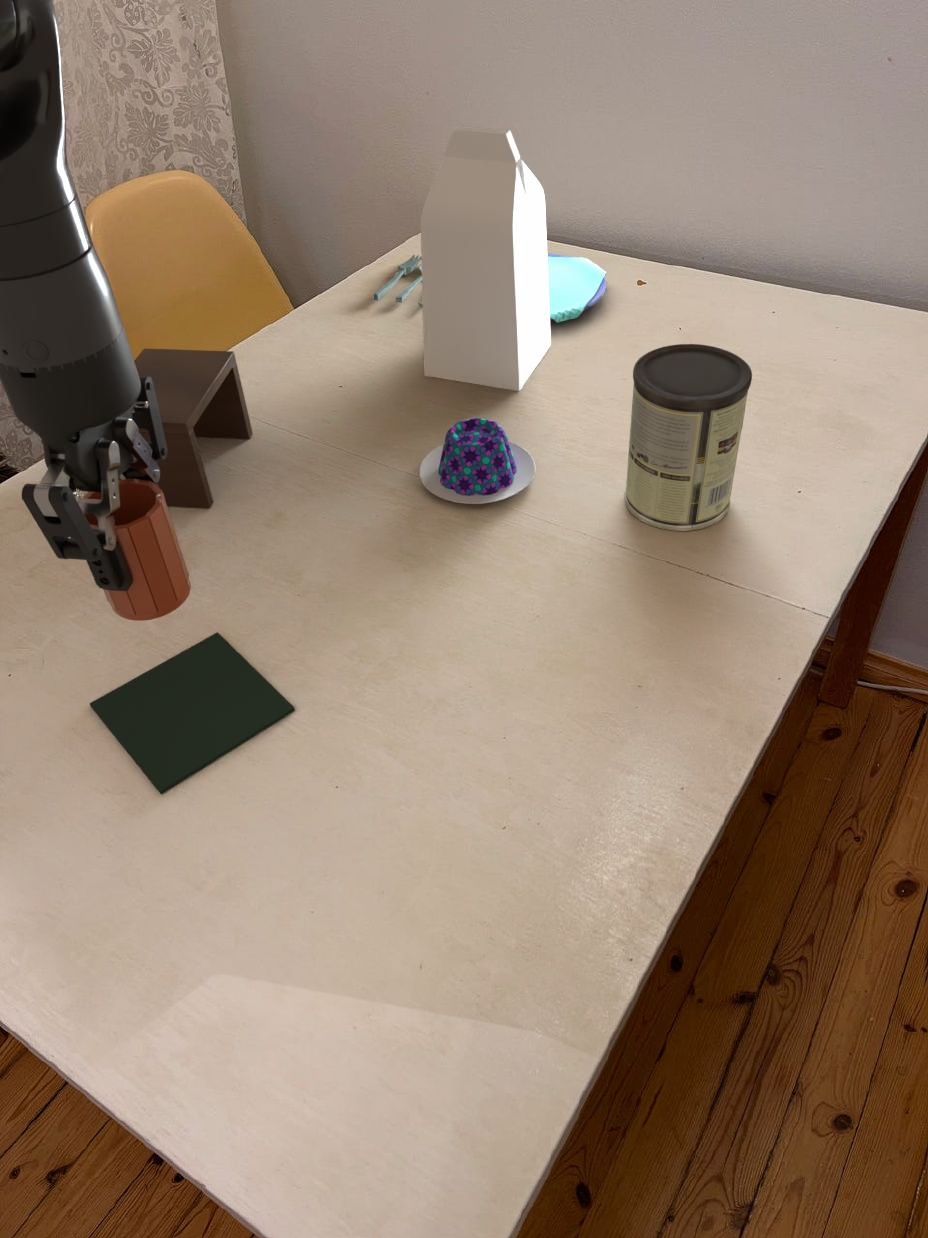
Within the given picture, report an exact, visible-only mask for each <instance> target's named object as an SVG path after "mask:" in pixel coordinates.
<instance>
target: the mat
mask: <svg viewBox="0 0 928 1238" xmlns="http://www.w3.org/2000/svg"><path fill="white" fill-rule="evenodd" d="M89 706H90V708H91V709H92V710H93V711H94V713H95V714H96V715H97V716H98V718H99V719H100V720H101V721H102V723H103V724H104V726H105V727H106V729H108V730H109V732H110V733H111V734H112V736H114V738H115V739H116V740H117V741H118V743H119V744H120V745H121V746H122V748H123V749H124V750H125V751H126V752H127V754H128V755H129V756H130V758H131V759H132V760H133V762H134V763H135V764H136V765H137V766H138V768H139V769H140V770H141V771H142V773H143V774H144V775H145V777H146V778H147V779H148V780H149V781H150V783H151V785H153V786H154V788H155V789H156V791H158V793H159V794H160V795H163V794H164V793H166V792H168V791H169V790H171V789H173V788H174V787H175V786H177V785H179V784H180V783H182V782H184V781H185V780H187V779H188V778H190V777H193V775H195V774H196V773H198V772H200V771H202V770H203V769H205V768H206V767H208V766H210V765H211V764H212V763H214V762H215V761H217V760H219V759H220V758H222V757H224V756H225V755H227V754H228V753H230V752H232V751H233V750H235V749H237V748H238V747H240V746H241V745H243V744H244V743H246V742H247V741H249V740H251V739H252V738H254V737H256V736H257V735H259V734H261V733H262V732H264V731H265V730H267V729H268V728H270V727H272V726H273V725H275V724H276V723H278V722H280V721H281V720H283V719H284V718H287V717H288V716H289V715H291V714H292V713H294V712H296V708H295V706H294V705H293V704H291V703H290V701H288V699H286V698H285V696H284V695H282V694H281V693H280V692H279V691H278V690H277V689H276V688H275V687H274V685H272V684H271V683H270V682H269V681H268V680H267V679H266V678H265V677H264V676H263V675H262V673H260V672H259V671H258V670H257V669H256V668H255V667H254V666H253V665H252V664H251V663H250V662H249V661H248V660H246V658H245V657H244V656H242V654H240V652H238V651H237V650H236V648H235V647H233V646H232V644H231V643H230V642H228V640H227V639H225V638H224V637H223V636H222V635H221V634H220V633H219V632H218V631H217V632H215V633H213V634H211V635H209V636H208V637H206V638H204V639H202V640H200V641H199V642H196V643H194V644H193V645H192V646H189V647H188V648H187V649H184V650H182V651H181V652H179V653H177V654H176V655H174V656H172V657H170V658H168V659H166V660H164V661H163V662H161V663H160V664H157V665H155V666H154V667H152V668H151V669H149V670H147V671H145V672H143V673H141V674H140V675H138V676H136V677H134V678H133V679H130V680H129V681H127V682H125V683H123V684H121V685H120V686H118V687H116V688H115V689H112V690H110V691H109V692H107V693H106V694H103V695H101V696H100V697H98V698H96V699H95V700H93V701H91V702H90V703H89Z"/></svg>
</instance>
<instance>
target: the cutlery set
mask: <svg viewBox="0 0 928 1238" xmlns="http://www.w3.org/2000/svg"><path fill="white" fill-rule="evenodd" d="M547 259H548V283H549V307H550V320H554V321H555V322H556V323H561V322H564V321H569V320H575V319H576V318H579V317H580V316H581V314H582V313H583V311H584V310H587V309H588V308H590V307H593V306H594V305H595V304H596V303H598V301H599V300H601V298H602V297H604V295H605V292H606V287H607V284H608V281H607V280H606V277H605V276H607V273H608V272H606V271H605V270H604V269H602V268H601V267H600V266H599V265H598V264H596V263H594V262H593V261H592V260H590V259H588V258H586V257H579V256H578V257H576V256H575V257H573V256H568V255H563V254H558V253H552V252H551V253H549V252H547ZM420 262H421V263H420ZM419 263H420V265H419V267H418V269H419V271H420V272H421V274H422V261H421V256H420V255H415V254H413V255H412V256H411V257H410V258H408V259H407V260H406V261H405V262H403V263H402V264H400V265H399V264H398V265H397V269H398V270H397V272H396V273H395V274H394V275H393V276H392V278H391V279H390V280H388V281H387V282H386V283H385V284H384V285H383V286H381V287H379V289H377V291H375V292H374V293H373V295H372V297H373V301H380V300H381V298H382V297H384V295H385V294H387V292H389V291H390V290H391V289H393V287H394V286H395V285H396V284H397V282H398V281H399V280H400V278H401V277H402V276H407V275H409V274H412V272H413V271H414V269H416V267H417V266H418V264H419ZM421 282H422V275H420V276H418V277H417V278H416V279H415V280H414V281H412V282H411V283H410V284H408V286H407V287H405V289H403V290H402V291H401V292H400V293H399V294H398V295H397V296H396V297H395V301H396V303H403V302H404V301H405V299H406V298H407V297H408V296H409V294H410V293H411V292H412V291H413V290H414V289H415V288H416V286H418V285H419V284H420V283H421ZM417 305H418V309H423V299H422V300H421V301H420V302H418V304H417Z"/></svg>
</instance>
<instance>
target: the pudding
mask: <svg viewBox="0 0 928 1238" xmlns="http://www.w3.org/2000/svg"><path fill="white" fill-rule="evenodd" d="M536 468H537V466H536V462H535V460H534V458H533V456H532V455H531V453H530V452H529V451H528V450H527V449H525V448H524V447H522V446H521V445H519V444H517V443H516V442H513V441H510V440H509V438H508V435H507V432H506V431H505V430H504V428H503V427H502V426H500V425H499V423H498V422H497V421H495V420H493V419H489V418H488V419H484V418H481V417H471V418H469V419H462V420H459V421H458V422H456V423H454V425H453V426H452V427H449V429H448V430H447V432H446V433H445V436H444V442H443V444H441V445H439V446H437V447H435V448H434V449H432V450H431V451H430V452H428V453H427V455H425V456H424V458H423V459H422V461H421V463H420V465H419V469H418V476H419V479H420V482H421V484H422V485H423V487H425V489H426V490H428V491H429V492H430V493H432V494H433V495H435V496H436V497H438V498H441V499H443V500H446V501H450V502H453V503H459V504H468V505H480V504H490V503H495V502H499V501H502V500H506V499H509V498H511V497H513V496H515V495H517V494H519V493H520V492H522V491H524V489H526V488H527V487H528V486H529V485H530V484H531V482H532V481H533V480H534V477H535V475H536V471H537V470H536Z"/></svg>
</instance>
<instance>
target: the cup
mask: <svg viewBox="0 0 928 1238" xmlns="http://www.w3.org/2000/svg"><path fill="white" fill-rule="evenodd" d="M118 483H119V494H120V505H121V507H120V510H119V511H118V512H116V513H115V514H114V519H115V530H116V542H119V543H120V546H121V549H122V551H123V554H124V557H125V560H126V562H127V565H128V568H129V570H130V573H131V576H132V578H133V583H132V585H131V586H130V588H129V590H128V591H114V590H105V589H102V591H103V593H104V595H105V598H106V601H107V602H108V603H109V605H110V607H111V609H112V611H113V612H114V613H115V614H116V615H118V616H119V617H120V618H123V619H125V620H129V621H135V622H136V621H137V622H139V621H141V622H142V621H150V620H155V619H159V618H162V617H165V616H167V615H169V614H171V613H172V612H174V611H176V610H177V609H179V608H180V607H181V606H182V605H183V604H184V603H185V602H186V601H187V599H188V598H189V596H190V593H191V591H192V590H191V589H192V583H191V580H190V573H189V569H188V566H187V563H186V561H185V557H184V554H183V551H182V548H181V544H180V542H179V538H178V535H177V533H176V530H175V526H174V523H173V520H172V517H171V514H170V510H169V506H167V504H166V501H165V498H164V495H163V492H162V490H161V489H160V488H158V487H157V486H156V485H155V484H154V483H153V482H151V481H145V480H140V479H124V480H118ZM81 498H84V499H100V500H102V492H86V493H85V494H84V495H83V496H82V497H81ZM86 519H87V521H88V523H89V524H90V526H91V528H92V530H95V531H99V527H98V519H97V517H96V516H95V515H90V514H86Z"/></svg>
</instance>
